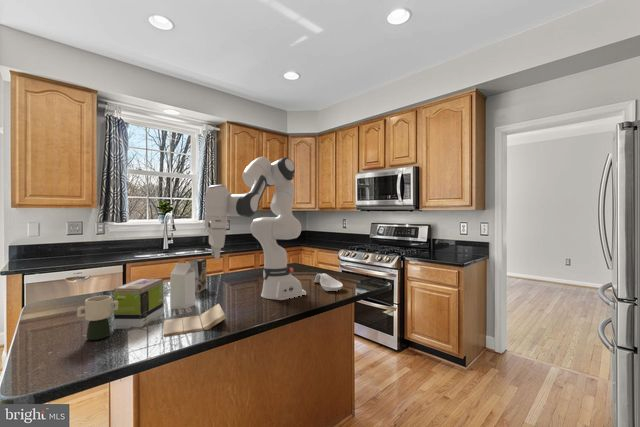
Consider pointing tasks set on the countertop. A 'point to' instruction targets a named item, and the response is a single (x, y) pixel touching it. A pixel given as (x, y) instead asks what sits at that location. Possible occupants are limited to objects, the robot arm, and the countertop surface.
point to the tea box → (138, 303)
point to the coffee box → (199, 273)
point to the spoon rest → (328, 282)
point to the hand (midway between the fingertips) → (215, 257)
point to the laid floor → (182, 325)
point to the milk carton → (182, 286)
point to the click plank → (212, 317)
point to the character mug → (98, 315)
